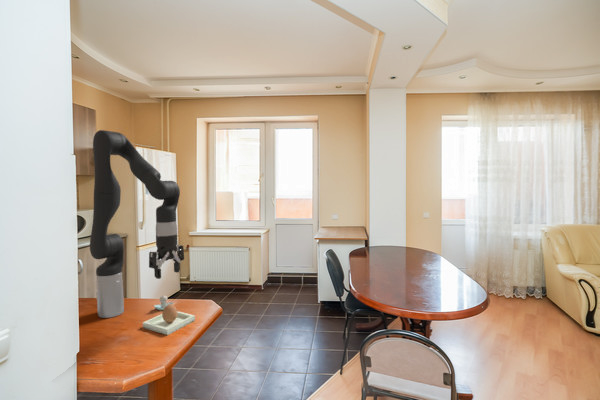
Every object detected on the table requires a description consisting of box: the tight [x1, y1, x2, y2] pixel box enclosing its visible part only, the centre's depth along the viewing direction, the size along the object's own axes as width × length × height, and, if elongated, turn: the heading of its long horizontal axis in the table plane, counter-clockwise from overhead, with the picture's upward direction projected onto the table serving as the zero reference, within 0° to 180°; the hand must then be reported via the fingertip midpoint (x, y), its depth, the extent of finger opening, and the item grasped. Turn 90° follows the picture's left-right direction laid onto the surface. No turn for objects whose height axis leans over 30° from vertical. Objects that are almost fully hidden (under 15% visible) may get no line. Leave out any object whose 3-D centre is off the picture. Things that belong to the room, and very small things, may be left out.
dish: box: [142, 310, 196, 336], centre depth 122 cm, size 13×13×2 cm
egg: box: [161, 304, 178, 323], centre depth 122 cm, size 5×5×7 cm
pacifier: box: [153, 295, 174, 311], centre depth 137 cm, size 7×6×6 cm
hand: (167, 275), depth 121 cm, fingers open, 8 cm apart
